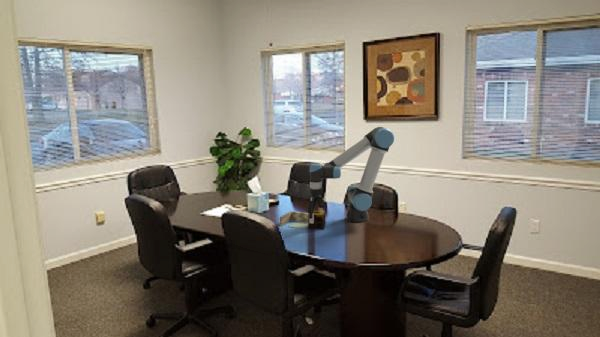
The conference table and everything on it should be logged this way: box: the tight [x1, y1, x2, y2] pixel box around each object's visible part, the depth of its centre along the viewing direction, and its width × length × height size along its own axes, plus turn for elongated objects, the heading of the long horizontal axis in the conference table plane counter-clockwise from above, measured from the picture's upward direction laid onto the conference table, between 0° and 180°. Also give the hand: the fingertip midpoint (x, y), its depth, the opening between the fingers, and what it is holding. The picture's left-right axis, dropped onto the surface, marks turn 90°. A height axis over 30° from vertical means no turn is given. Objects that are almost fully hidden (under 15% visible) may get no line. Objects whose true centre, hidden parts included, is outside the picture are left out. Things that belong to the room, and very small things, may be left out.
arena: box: [279, 210, 309, 227], centre depth 299 cm, size 19×15×6 cm
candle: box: [307, 209, 327, 231], centre depth 291 cm, size 10×10×10 cm
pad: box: [287, 221, 308, 230], centre depth 298 cm, size 12×12×1 cm
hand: (316, 220), depth 291 cm, fingers open, 13 cm apart
